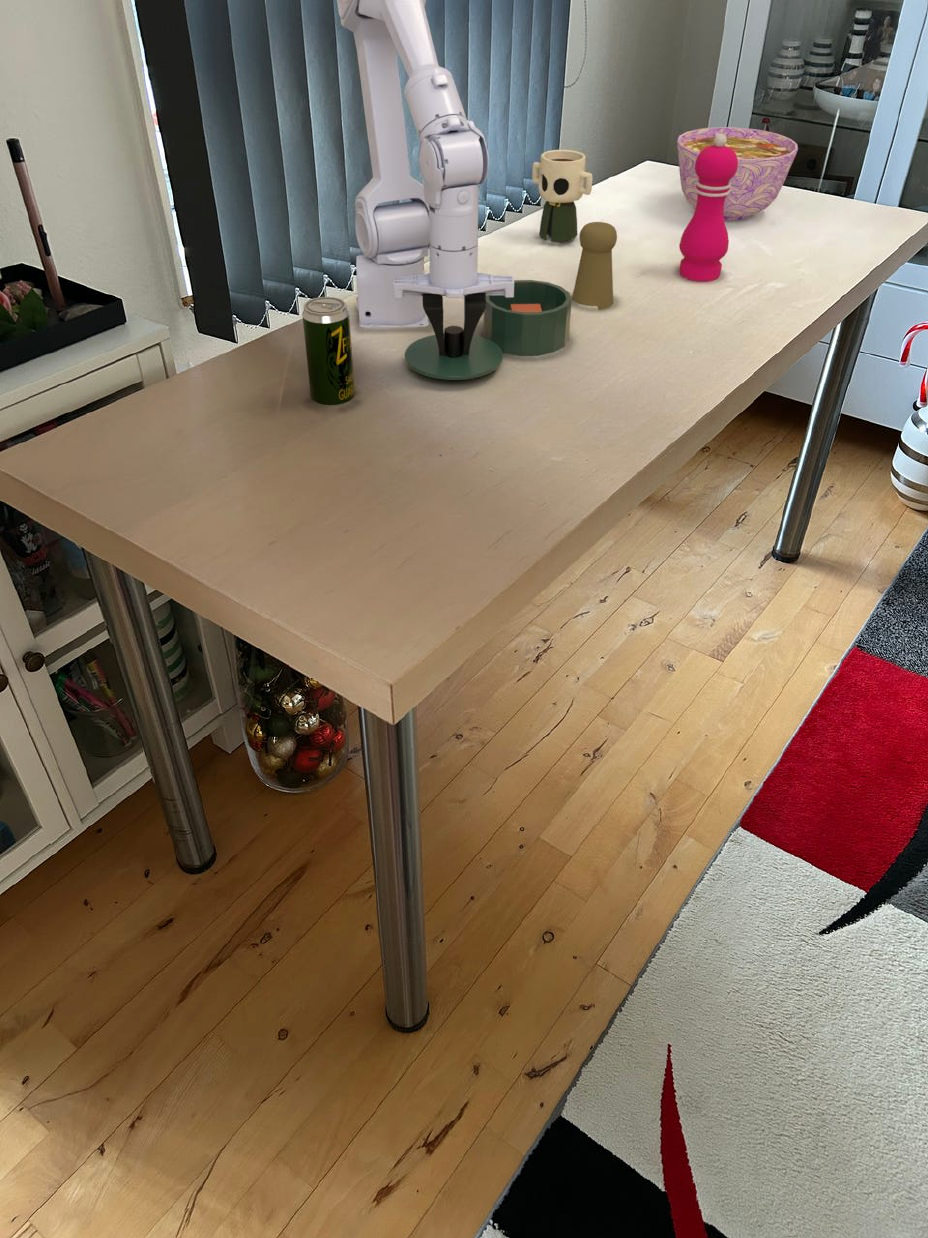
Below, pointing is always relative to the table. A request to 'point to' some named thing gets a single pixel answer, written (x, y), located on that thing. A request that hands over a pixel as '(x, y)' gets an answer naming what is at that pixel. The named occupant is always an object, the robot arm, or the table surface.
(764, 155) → the bowl of food
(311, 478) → the table surface
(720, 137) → the pepper mill
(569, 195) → the character mug
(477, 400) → the table surface
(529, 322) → the pot
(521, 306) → the block
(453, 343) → the lid
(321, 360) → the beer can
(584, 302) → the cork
